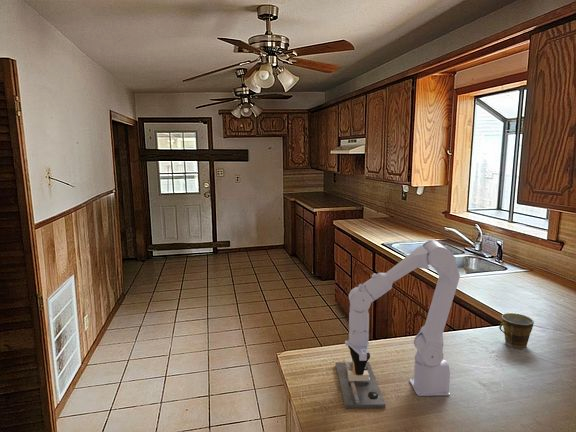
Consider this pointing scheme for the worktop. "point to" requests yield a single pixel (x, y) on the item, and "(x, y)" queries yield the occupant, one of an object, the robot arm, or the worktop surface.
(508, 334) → the ceramic cup
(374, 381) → the hole plate
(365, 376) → the block with orange knob
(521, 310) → the worktop surface
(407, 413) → the worktop surface
